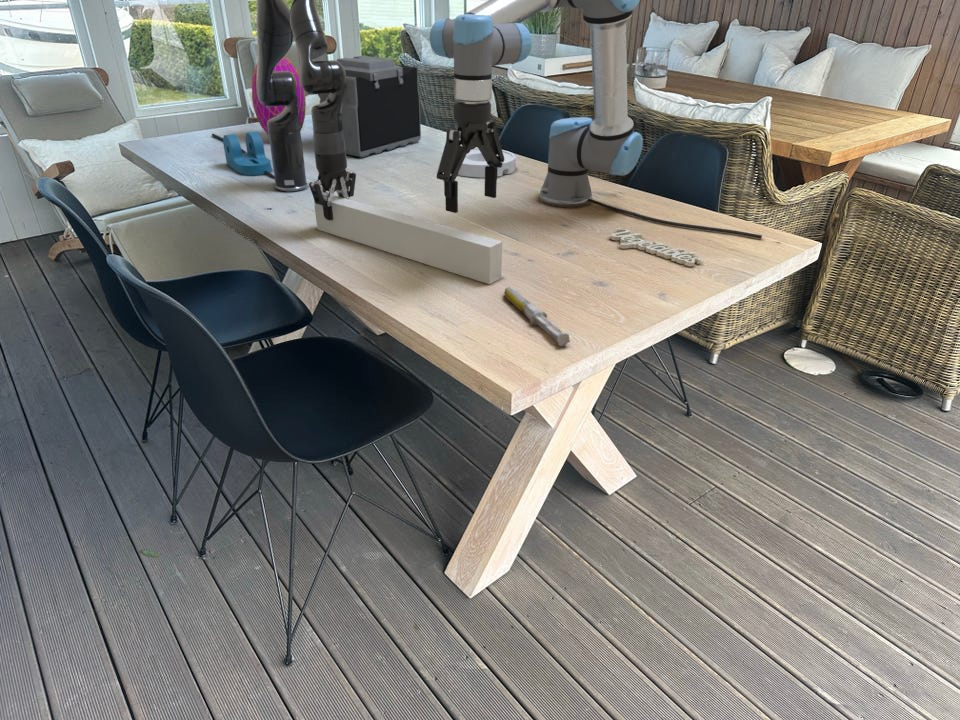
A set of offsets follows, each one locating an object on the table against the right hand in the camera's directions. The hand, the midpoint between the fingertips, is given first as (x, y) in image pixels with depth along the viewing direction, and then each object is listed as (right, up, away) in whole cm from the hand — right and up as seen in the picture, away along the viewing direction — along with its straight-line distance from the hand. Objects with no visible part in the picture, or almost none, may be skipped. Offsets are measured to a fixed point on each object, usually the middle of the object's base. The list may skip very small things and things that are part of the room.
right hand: (471, 204), depth 149 cm
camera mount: (-75, +30, +81) cm, 114 cm away
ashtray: (+2, +31, +84) cm, 90 cm away
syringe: (+13, -26, -12) cm, 31 cm away
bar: (-17, -8, +18) cm, 26 cm away
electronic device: (-39, +47, +110) cm, 125 cm away
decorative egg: (-74, +51, +116) cm, 147 cm away
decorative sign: (+44, -7, +21) cm, 49 cm away
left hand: (-35, +3, +28) cm, 45 cm away
